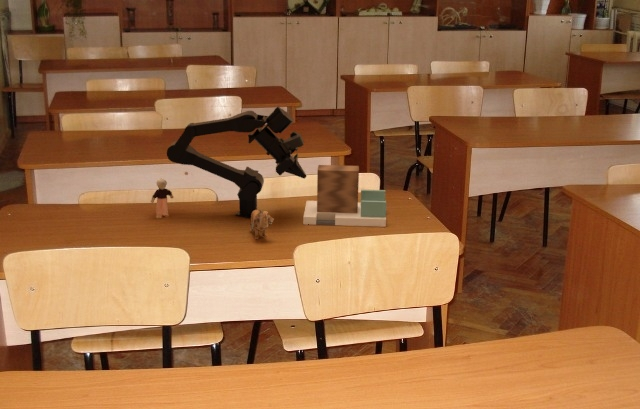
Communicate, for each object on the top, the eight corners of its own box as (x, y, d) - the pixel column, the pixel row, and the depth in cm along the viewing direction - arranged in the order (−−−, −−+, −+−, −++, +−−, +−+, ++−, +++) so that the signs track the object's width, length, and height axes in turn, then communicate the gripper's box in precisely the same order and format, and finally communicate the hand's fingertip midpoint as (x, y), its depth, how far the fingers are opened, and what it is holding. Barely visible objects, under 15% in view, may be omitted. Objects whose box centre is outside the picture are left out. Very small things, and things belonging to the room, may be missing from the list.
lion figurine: (275, 240, 235) (275, 212, 232) (258, 243, 232) (258, 214, 230) (257, 225, 247) (257, 197, 244) (242, 227, 245) (241, 200, 242)
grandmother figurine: (157, 220, 250) (155, 182, 246) (150, 217, 252) (148, 179, 248) (176, 214, 255) (175, 177, 251) (169, 211, 258) (167, 174, 254)
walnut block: (317, 212, 252) (317, 170, 247) (317, 205, 257) (318, 164, 253) (357, 213, 251) (358, 171, 247) (357, 207, 257) (358, 165, 252)
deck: (303, 224, 248) (303, 201, 246) (306, 207, 263) (306, 186, 261) (385, 226, 247) (386, 204, 245) (384, 209, 262) (385, 188, 260)
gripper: (286, 132, 237) (322, 168, 241) (291, 119, 255) (324, 152, 258) (260, 157, 240) (296, 192, 243) (267, 142, 258) (300, 175, 261)
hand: (305, 177), depth 251 cm, fingers closed
